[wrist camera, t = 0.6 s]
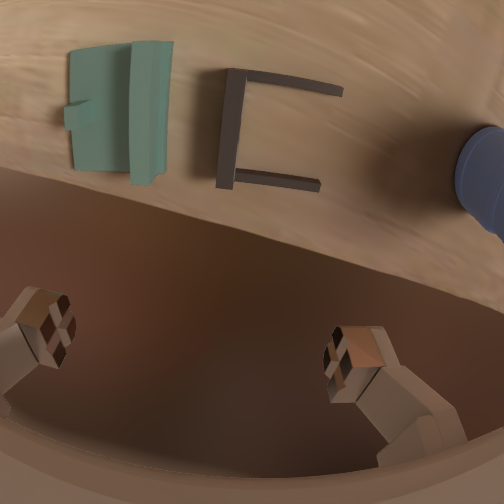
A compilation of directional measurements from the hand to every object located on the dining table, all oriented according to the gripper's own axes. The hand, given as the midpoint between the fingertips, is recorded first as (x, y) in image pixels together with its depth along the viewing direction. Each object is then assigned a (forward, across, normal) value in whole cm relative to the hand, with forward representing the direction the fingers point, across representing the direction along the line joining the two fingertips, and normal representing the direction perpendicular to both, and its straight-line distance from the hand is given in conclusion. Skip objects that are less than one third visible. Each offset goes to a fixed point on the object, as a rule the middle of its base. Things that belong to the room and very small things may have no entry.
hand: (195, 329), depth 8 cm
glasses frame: (+31, -5, -2) cm, 31 cm away
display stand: (+31, +15, -3) cm, 35 cm away
